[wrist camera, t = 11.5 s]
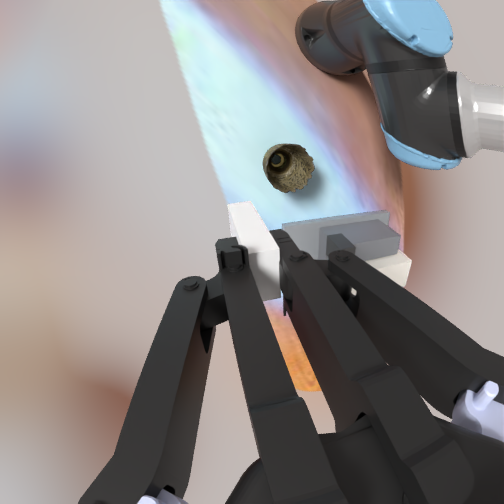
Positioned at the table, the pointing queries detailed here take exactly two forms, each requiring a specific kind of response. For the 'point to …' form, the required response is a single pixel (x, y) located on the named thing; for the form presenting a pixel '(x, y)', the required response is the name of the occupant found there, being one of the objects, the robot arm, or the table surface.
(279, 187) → the cup
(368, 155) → the table surface
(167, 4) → the table surface
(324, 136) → the table surface
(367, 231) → the guide
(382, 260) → the peg
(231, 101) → the table surface
